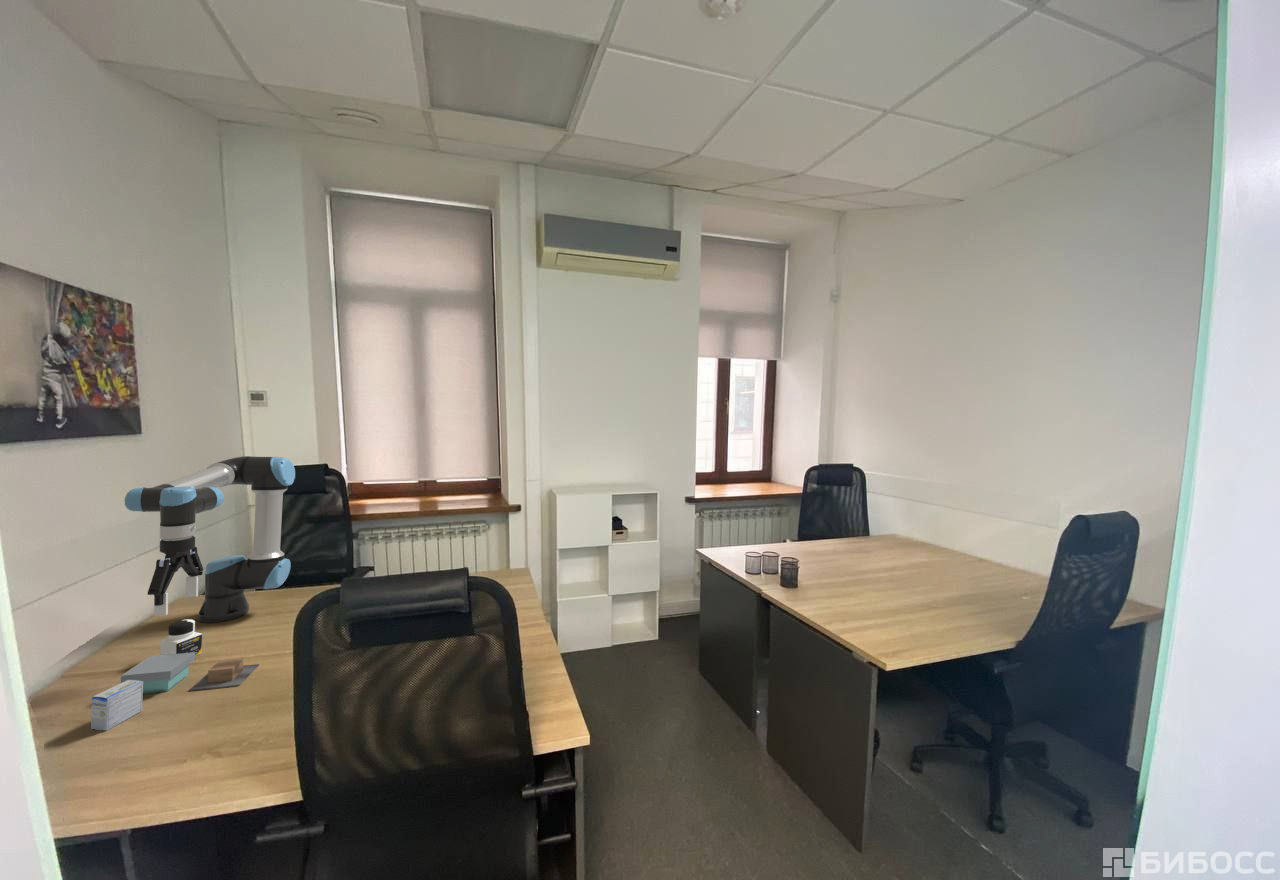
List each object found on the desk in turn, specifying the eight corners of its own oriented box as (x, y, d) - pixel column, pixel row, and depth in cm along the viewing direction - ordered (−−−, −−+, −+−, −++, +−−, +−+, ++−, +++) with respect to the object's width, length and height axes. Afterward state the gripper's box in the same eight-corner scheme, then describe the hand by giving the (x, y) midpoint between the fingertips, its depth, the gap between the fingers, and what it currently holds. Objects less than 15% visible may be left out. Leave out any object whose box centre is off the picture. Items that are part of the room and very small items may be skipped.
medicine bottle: (176, 664, 142) (177, 627, 142) (159, 661, 144) (160, 624, 143) (202, 653, 149) (203, 618, 149) (185, 650, 151) (186, 616, 150)
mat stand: (213, 669, 140) (213, 656, 140) (259, 665, 144) (259, 652, 144) (188, 691, 129) (188, 677, 129) (238, 686, 133) (239, 672, 133)
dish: (151, 678, 134) (151, 665, 134) (188, 674, 137) (188, 661, 137) (127, 695, 126) (128, 681, 126) (168, 691, 129) (168, 677, 128)
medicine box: (127, 710, 120) (128, 679, 119) (142, 711, 120) (143, 680, 119) (90, 730, 112) (90, 696, 112) (106, 731, 112) (107, 697, 111)
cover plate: (149, 663, 135) (150, 656, 135) (195, 659, 138) (195, 652, 138) (120, 684, 124) (120, 675, 124) (170, 679, 128) (170, 670, 128)
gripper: (164, 549, 124) (163, 622, 125) (217, 527, 148) (217, 589, 149) (129, 550, 122) (128, 624, 123) (189, 527, 145) (189, 590, 146)
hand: (177, 605), depth 136 cm, fingers open, 13 cm apart
